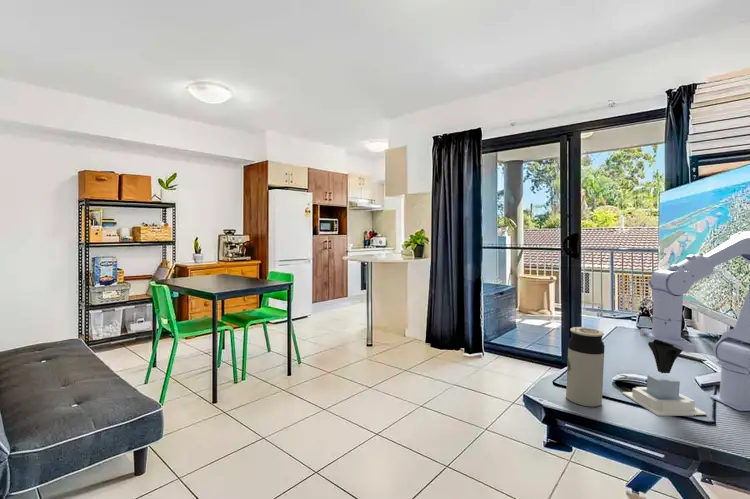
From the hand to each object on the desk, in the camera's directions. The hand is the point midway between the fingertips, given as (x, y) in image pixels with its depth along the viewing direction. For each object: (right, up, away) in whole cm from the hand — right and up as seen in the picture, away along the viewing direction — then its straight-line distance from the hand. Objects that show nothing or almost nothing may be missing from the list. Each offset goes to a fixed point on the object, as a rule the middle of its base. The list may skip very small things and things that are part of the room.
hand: (663, 372), depth 95 cm
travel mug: (-19, -8, +2) cm, 21 cm away
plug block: (0, -8, 0) cm, 8 cm away
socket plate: (0, -8, 0) cm, 8 cm away
